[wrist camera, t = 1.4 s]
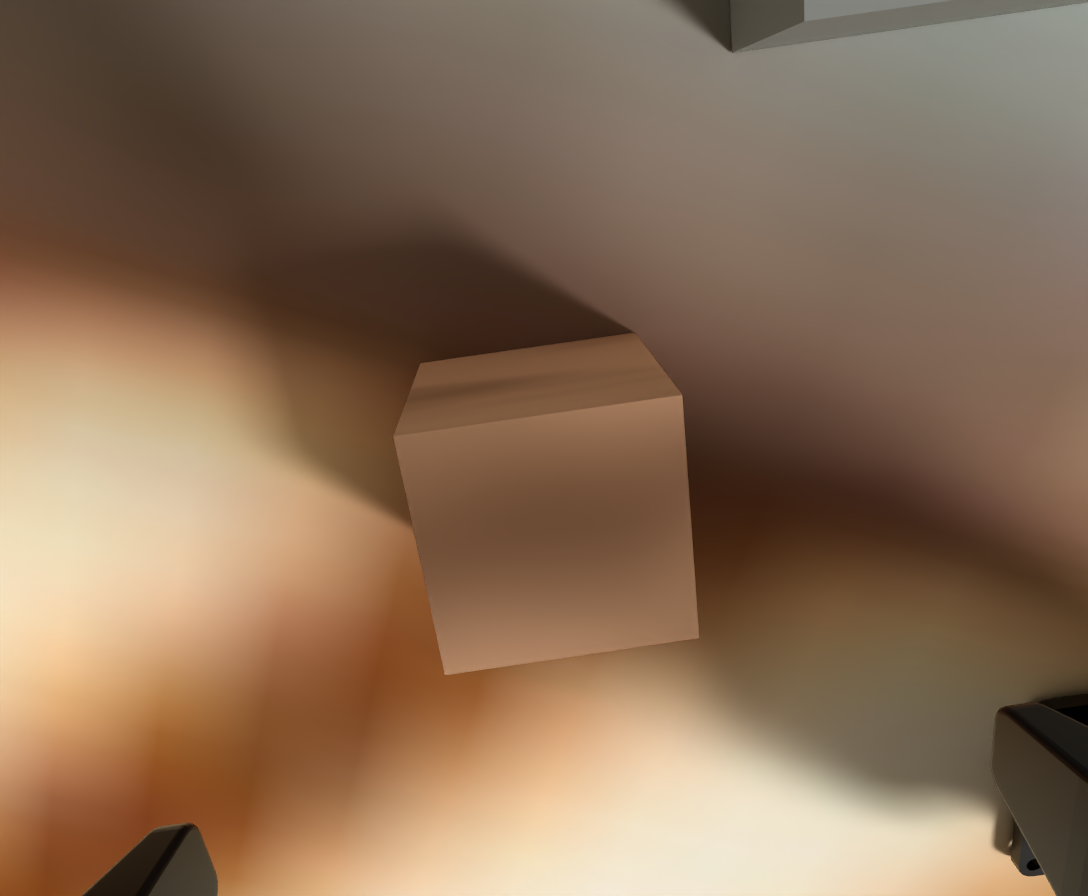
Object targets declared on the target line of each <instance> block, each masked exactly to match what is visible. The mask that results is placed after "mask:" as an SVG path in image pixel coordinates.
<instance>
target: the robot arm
mask: <svg viewBox="0 0 1088 896" xmlns="http://www.w3.org/2000/svg"><path fill="white" fill-rule="evenodd" d="M991 770H992V775H993V778H994V781H995V784H996V786H997V788H998V790H999V792H1000V794H1001V795H1002V797H1003V799H1004V801H1005V803H1006V805H1007V806H1008V808H1009V810H1010V812H1011V814H1012V815H1013V817H1014V819H1015V824H1014V832H1013V841H1012V849H1011V860H1012V862H1013V863H1014V864H1015V866H1016V867H1017V869H1018V870H1019V871H1020V872H1021V873H1022V874H1023V875H1025V876H1038V875H1045V876H1046V878H1047V879H1048V881H1049V883H1050V885H1051V887H1052V889H1053V890H1054V892H1055V894H1056V896H1088V694H1083V695H1076V696H1069V697H1062V698H1055V699H1048V700H1044V701H1041V702H1039V703H1025V704H1018V705H1011V706H1005V707H1002V708H1000V709H999V711H998V712H997V714H996V718H995V726H994V736H993V746H992V756H991ZM217 895H218V880H217V875H216V871H215V869H214V866H213V864H212V861H211V858H210V856H209V853H208V851H207V848H206V846H205V843H204V841H203V838H202V835H201V833H200V831H199V829H198V827H196V826H195V825H194V824H193V823H181V824H174V825H167V826H161V827H158V828H156V829H154V830H152V831H151V832H150V833H149V834H147V835H146V836H145V837H144V838H143V839H142V840H141V841H140V842H139V843H138V844H137V845H136V846H134V847H133V848H132V849H131V850H130V851H129V852H128V853H127V854H126V855H125V856H124V857H123V858H122V859H120V860H119V861H118V862H117V863H116V864H115V865H114V866H113V867H112V868H111V869H110V870H109V871H108V872H107V873H105V874H104V875H103V876H102V877H101V878H100V879H99V880H98V881H97V882H96V883H95V884H94V885H93V886H92V887H90V888H89V889H88V890H87V891H86V892H85V893H84V894H83V895H82V896H217Z"/></svg>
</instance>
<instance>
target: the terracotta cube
mask: <svg viewBox="0 0 1088 896" xmlns="http://www.w3.org/2000/svg"><path fill="white" fill-rule="evenodd" d="M393 438H394V443H395V447H396V452H397V457H398V461H399V466H400V470H401V475H402V480H403V484H404V489H405V493H406V498H407V503H408V507H409V512H410V516H411V521H412V526H413V530H414V535H415V539H416V544H417V548H418V553H419V558H420V562H421V567H422V571H423V576H424V581H425V585H426V590H427V594H428V599H429V604H430V608H431V613H432V617H433V622H434V626H435V631H436V636H437V640H438V645H439V649H440V654H441V659H442V663H443V668H444V672H445V675H449V674H456V673H463V672H470V671H476V670H483V669H490V668H497V667H504V666H511V665H518V664H525V663H532V662H538V661H545V660H552V659H559V658H566V657H573V656H580V655H587V654H594V653H601V652H607V651H614V650H621V649H628V648H635V647H642V646H649V645H656V644H663V643H670V642H676V641H683V640H690V639H697V638H699V628H698V613H697V599H696V585H695V570H694V556H693V542H692V527H691V513H690V499H689V484H688V470H687V456H686V441H685V427H684V413H683V398H682V394H681V393H680V391H679V390H678V389H677V387H676V386H675V385H674V383H673V382H672V381H671V379H670V378H669V377H668V375H667V374H666V373H665V372H664V370H663V369H662V368H661V366H660V365H659V364H658V362H657V361H656V360H655V358H654V357H653V356H652V354H651V353H650V352H649V351H648V349H647V348H646V347H645V345H644V344H643V343H642V341H641V340H640V339H639V337H638V336H637V335H636V333H628V334H621V335H614V336H607V337H600V338H593V339H586V340H579V341H572V342H565V343H558V344H551V345H544V346H537V347H530V348H523V349H516V350H509V351H502V352H495V353H488V354H481V355H474V356H467V357H460V358H453V359H446V360H439V361H432V362H425V363H420V366H419V368H418V371H417V374H416V376H415V379H414V382H413V384H412V387H411V390H410V392H409V395H408V398H407V400H406V403H405V406H404V408H403V411H402V414H401V417H400V419H399V422H398V425H397V427H396V430H395V433H394V435H393Z"/></svg>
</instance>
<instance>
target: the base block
mask: <svg viewBox="0 0 1088 896" xmlns="http://www.w3.org/2000/svg"><path fill="white" fill-rule="evenodd" d="M1086 2H1088V0H730V15H731V40H732V53H735V52H742V51H749V50H756V49H763V48H770V47H777V46H784V45H791V44H798V43H805V42H812V41H819V40H826V39H833V38H840V37H847V36H854V35H861V34H868V33H875V32H882V31H889V30H896V29H903V28H910V27H917V26H924V25H931V24H938V23H945V22H952V21H959V20H966V19H973V18H981V17H988V16H995V15H1002V14H1009V13H1016V12H1023V11H1030V10H1037V9H1044V8H1051V7H1058V6H1065V5H1072V4H1079V3H1086Z"/></svg>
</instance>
